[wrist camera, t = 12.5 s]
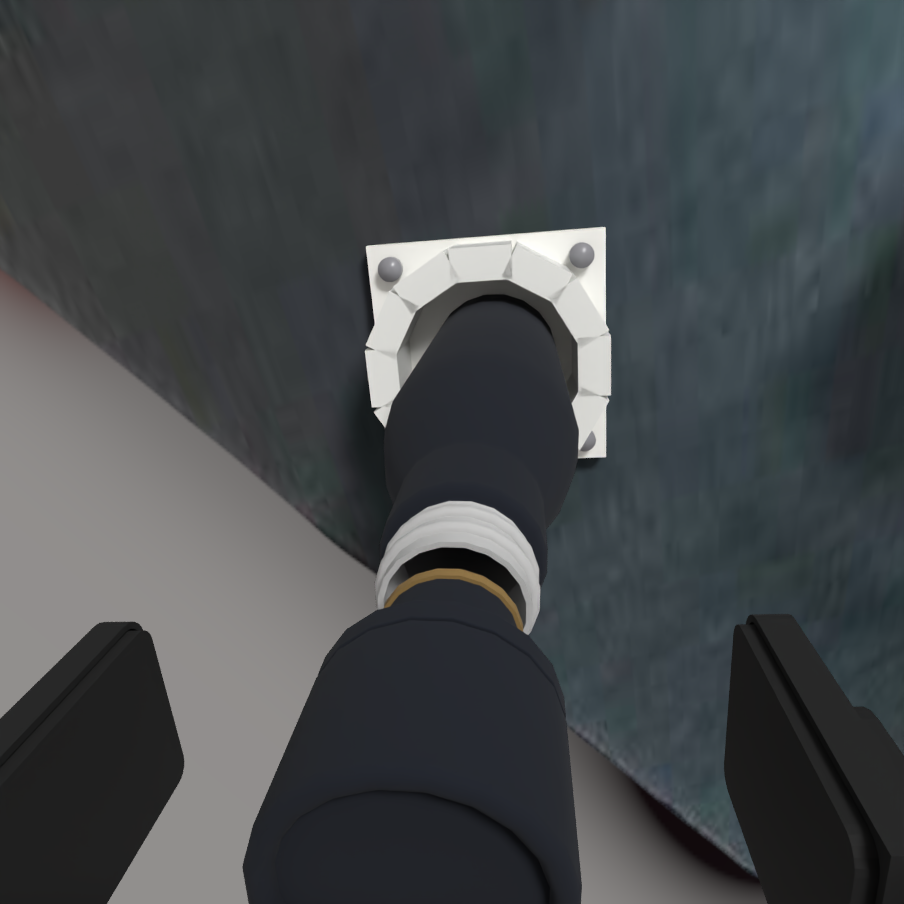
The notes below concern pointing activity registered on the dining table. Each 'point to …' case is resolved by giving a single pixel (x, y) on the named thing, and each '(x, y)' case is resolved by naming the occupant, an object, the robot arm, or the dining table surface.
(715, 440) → the dining table surface
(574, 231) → the flange socket
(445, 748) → the dark blue bottle
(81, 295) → the dining table surface
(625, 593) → the dining table surface
